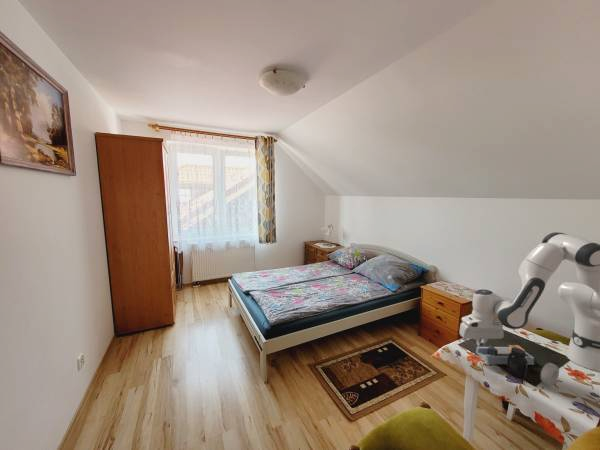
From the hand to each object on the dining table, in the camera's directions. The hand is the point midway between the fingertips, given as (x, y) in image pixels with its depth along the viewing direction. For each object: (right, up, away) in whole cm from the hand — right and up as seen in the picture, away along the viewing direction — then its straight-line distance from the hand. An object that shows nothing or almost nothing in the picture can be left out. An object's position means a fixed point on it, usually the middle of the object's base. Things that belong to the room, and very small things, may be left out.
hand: (480, 345), depth 124 cm
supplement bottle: (+7, -7, -12) cm, 16 cm away
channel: (+11, -6, -2) cm, 12 cm away
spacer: (+17, -5, -2) cm, 18 cm away
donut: (+16, -8, -19) cm, 26 cm away
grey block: (+9, -5, -2) cm, 11 cm away
